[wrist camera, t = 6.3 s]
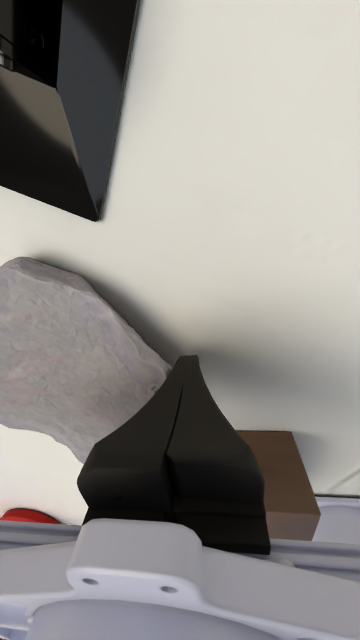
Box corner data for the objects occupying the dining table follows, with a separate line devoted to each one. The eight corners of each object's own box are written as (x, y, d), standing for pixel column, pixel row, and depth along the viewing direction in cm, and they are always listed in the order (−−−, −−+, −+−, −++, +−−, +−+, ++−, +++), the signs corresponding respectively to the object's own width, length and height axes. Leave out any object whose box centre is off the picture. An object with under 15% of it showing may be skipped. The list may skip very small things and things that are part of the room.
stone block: (39, 231, 14) (-29, 356, 16) (-23, 229, 9) (-105, 404, 12) (199, 340, 17) (122, 433, 19) (212, 379, 12) (108, 495, 15)
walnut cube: (284, 472, 19) (307, 555, 15) (221, 470, 20) (226, 548, 16) (291, 431, 17) (321, 514, 13) (220, 430, 18) (225, 508, 13)
